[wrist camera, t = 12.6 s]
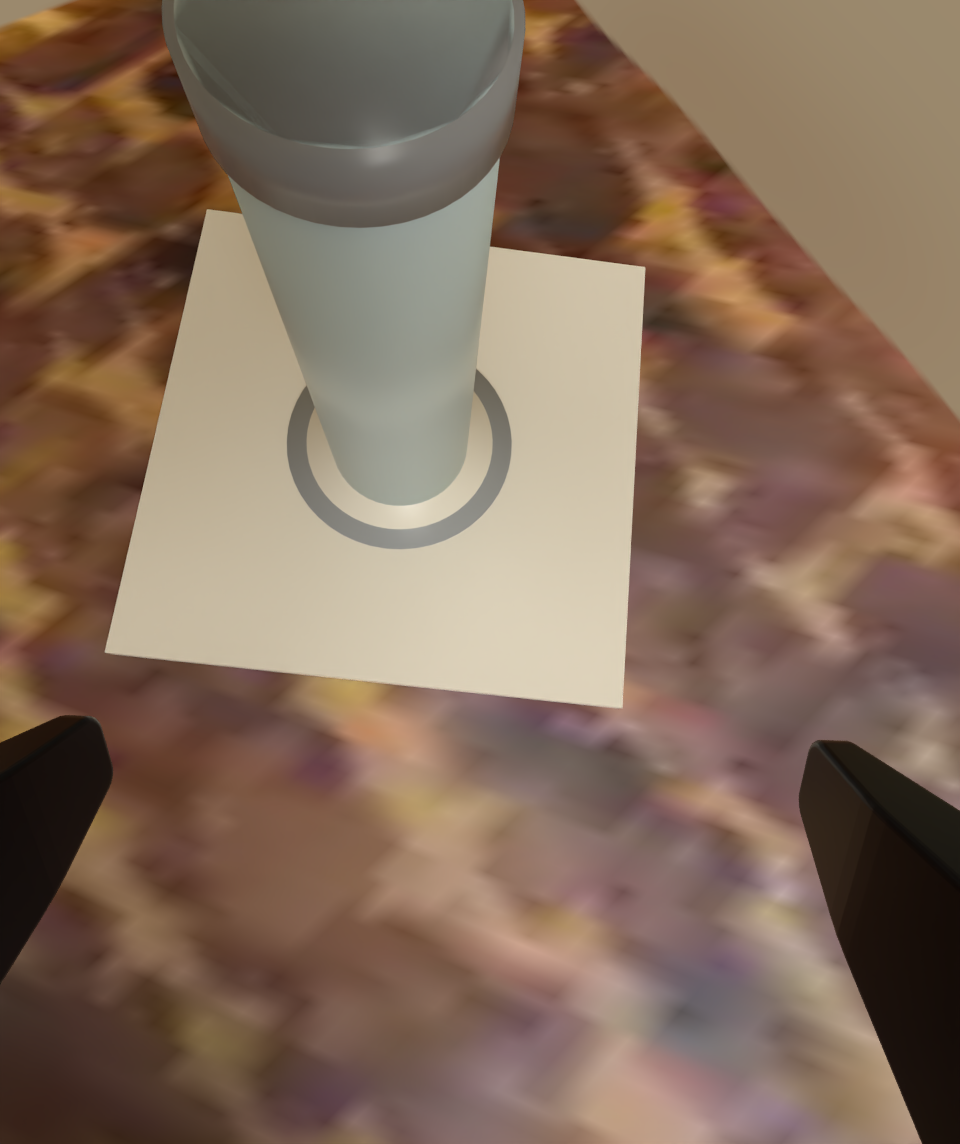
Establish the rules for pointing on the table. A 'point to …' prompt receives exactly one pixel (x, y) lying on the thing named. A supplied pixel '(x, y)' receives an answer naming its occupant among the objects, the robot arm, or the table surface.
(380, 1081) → the table surface
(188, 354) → the card
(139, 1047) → the table surface
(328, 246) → the tube
